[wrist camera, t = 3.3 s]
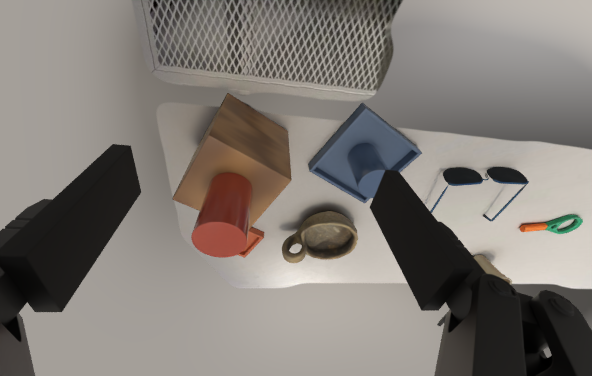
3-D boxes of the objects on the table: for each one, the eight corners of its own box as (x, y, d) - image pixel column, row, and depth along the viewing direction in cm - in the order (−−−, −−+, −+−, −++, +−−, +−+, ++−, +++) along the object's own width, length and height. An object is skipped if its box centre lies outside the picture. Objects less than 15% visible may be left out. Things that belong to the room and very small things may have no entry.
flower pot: (460, 254, 74) (478, 281, 67) (494, 248, 73) (516, 275, 66) (454, 272, 79) (471, 299, 73) (486, 267, 79) (506, 294, 72)
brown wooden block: (197, 146, 48) (171, 199, 36) (227, 92, 42) (208, 134, 30) (254, 175, 53) (247, 230, 41) (288, 131, 47) (291, 180, 35)
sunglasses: (517, 166, 55) (533, 182, 51) (480, 209, 65) (491, 226, 62) (439, 167, 54) (450, 184, 50) (413, 211, 64) (421, 228, 61)
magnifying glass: (584, 213, 66) (590, 218, 64) (569, 229, 69) (574, 234, 68) (525, 217, 65) (530, 222, 64) (513, 233, 69) (518, 238, 68)
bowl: (350, 240, 67) (360, 274, 59) (283, 244, 67) (284, 279, 59) (356, 200, 58) (369, 234, 51) (279, 205, 58) (280, 239, 50)
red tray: (212, 239, 64) (211, 245, 63) (229, 217, 60) (228, 223, 58) (245, 252, 68) (244, 257, 66) (264, 232, 63) (263, 237, 62)
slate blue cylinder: (340, 160, 51) (351, 188, 44) (362, 137, 48) (377, 163, 41) (362, 174, 53) (375, 203, 46) (384, 153, 50) (401, 180, 43)
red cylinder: (201, 194, 36) (182, 246, 29) (220, 164, 33) (205, 213, 26) (239, 211, 38) (231, 263, 31) (261, 185, 35) (257, 235, 28)
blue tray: (308, 164, 52) (309, 171, 50) (362, 102, 44) (365, 107, 42) (361, 196, 58) (364, 203, 56) (416, 146, 50) (422, 153, 48)
